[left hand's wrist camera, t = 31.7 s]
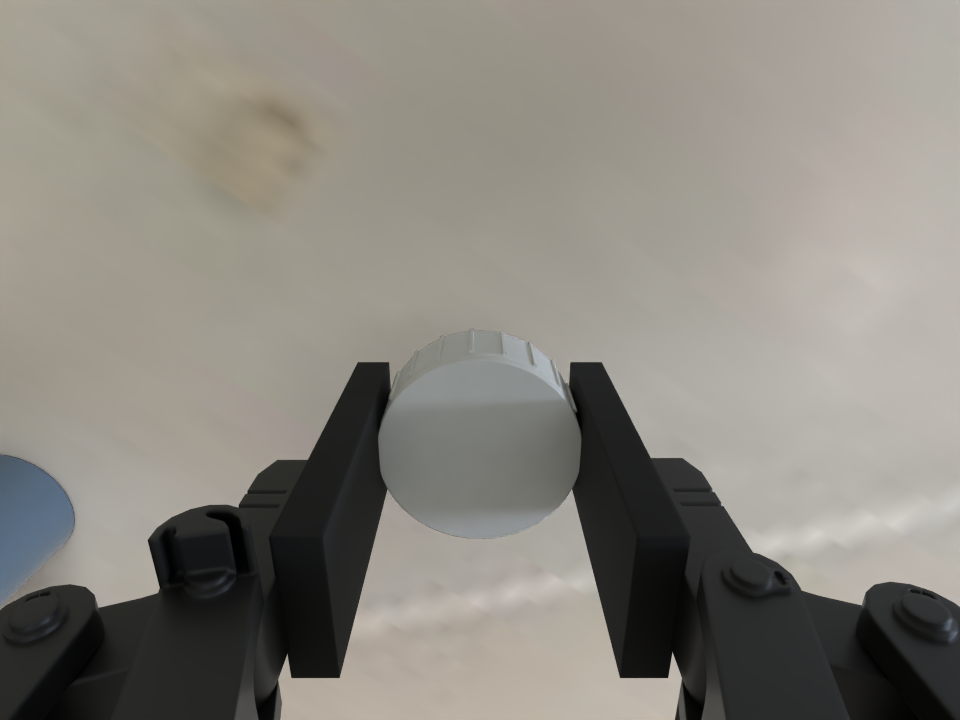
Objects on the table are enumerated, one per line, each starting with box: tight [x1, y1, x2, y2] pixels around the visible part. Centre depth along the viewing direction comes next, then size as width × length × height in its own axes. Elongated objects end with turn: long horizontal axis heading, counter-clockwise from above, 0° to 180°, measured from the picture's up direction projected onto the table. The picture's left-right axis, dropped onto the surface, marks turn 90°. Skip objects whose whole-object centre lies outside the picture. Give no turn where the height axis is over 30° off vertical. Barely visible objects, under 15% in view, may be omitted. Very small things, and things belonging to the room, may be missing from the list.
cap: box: [378, 329, 581, 539], centre depth 14 cm, size 5×5×2 cm
